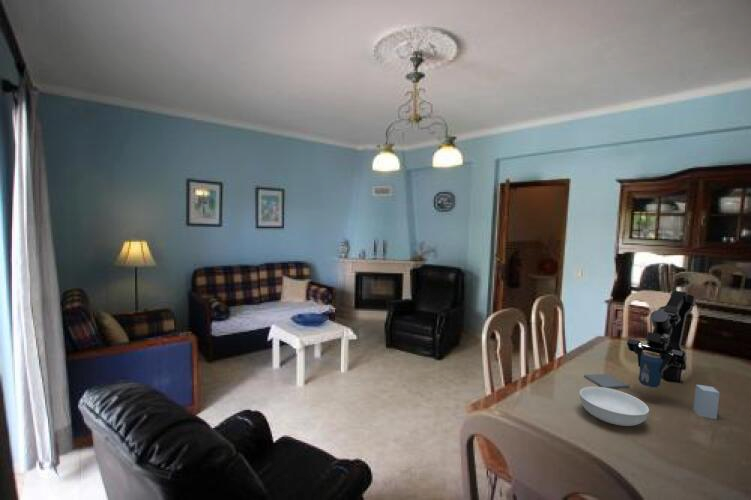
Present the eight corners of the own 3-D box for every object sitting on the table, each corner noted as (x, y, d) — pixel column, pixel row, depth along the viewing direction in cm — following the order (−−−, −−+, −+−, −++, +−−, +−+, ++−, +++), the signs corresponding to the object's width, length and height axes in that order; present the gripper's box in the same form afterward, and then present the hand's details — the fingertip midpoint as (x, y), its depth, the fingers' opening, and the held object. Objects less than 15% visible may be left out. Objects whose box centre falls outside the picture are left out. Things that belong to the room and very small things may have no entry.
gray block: (693, 410, 142) (696, 384, 141) (709, 412, 140) (712, 387, 139) (699, 416, 137) (702, 390, 136) (716, 419, 135) (719, 392, 134)
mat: (607, 375, 171) (607, 373, 171) (629, 387, 159) (629, 385, 159) (583, 376, 169) (583, 374, 169) (604, 389, 157) (604, 386, 157)
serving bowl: (649, 442, 120) (651, 421, 119) (575, 421, 131) (577, 402, 130) (644, 414, 138) (646, 396, 137) (580, 398, 149) (581, 381, 148)
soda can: (659, 383, 149) (662, 354, 148) (660, 390, 143) (664, 359, 142) (637, 379, 152) (640, 350, 151) (638, 385, 147) (641, 355, 145)
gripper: (630, 319, 155) (618, 350, 149) (688, 330, 141) (677, 366, 135) (635, 334, 161) (623, 365, 155) (690, 346, 146) (680, 381, 141)
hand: (649, 369), depth 146 cm, fingers closed on soda can, 7 cm apart
